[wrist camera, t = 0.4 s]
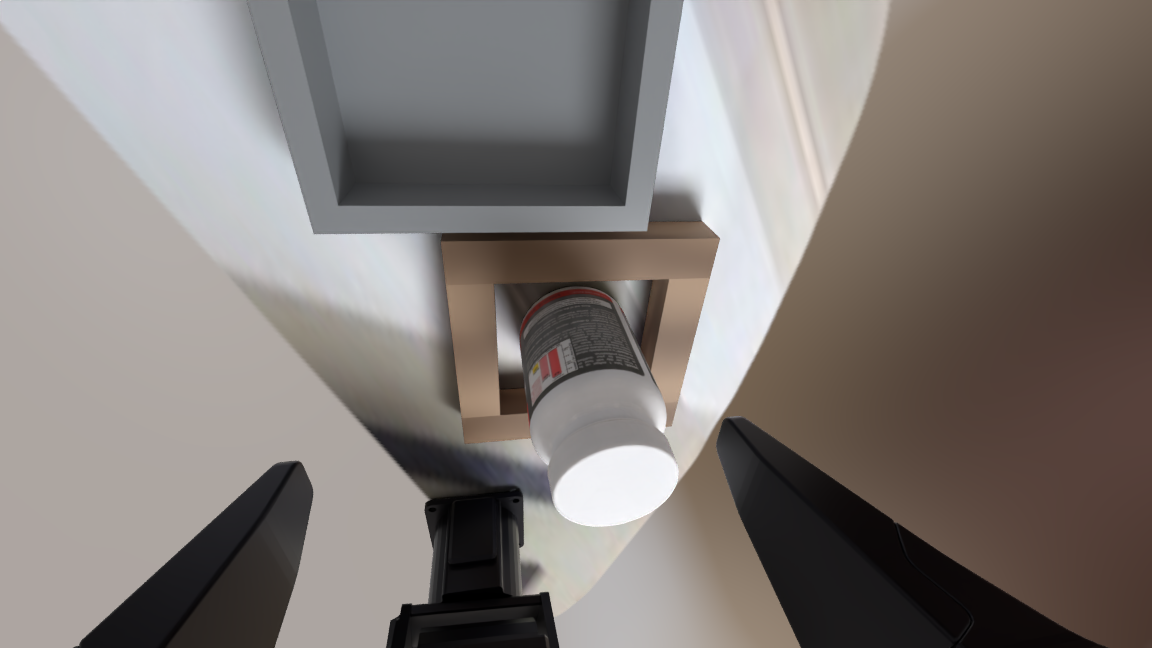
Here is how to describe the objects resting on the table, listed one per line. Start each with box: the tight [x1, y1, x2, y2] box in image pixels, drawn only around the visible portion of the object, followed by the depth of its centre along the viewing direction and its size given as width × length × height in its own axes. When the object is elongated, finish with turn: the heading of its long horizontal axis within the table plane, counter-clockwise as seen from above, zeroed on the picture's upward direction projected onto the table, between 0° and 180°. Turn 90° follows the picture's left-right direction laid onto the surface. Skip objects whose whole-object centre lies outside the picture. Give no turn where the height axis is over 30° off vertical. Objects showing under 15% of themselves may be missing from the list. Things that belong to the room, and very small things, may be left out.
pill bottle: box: [520, 286, 679, 526], centre depth 20 cm, size 6×6×10 cm
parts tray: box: [247, 0, 684, 234], centre depth 14 cm, size 12×12×4 cm
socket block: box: [441, 221, 720, 444], centre depth 23 cm, size 12×12×2 cm
